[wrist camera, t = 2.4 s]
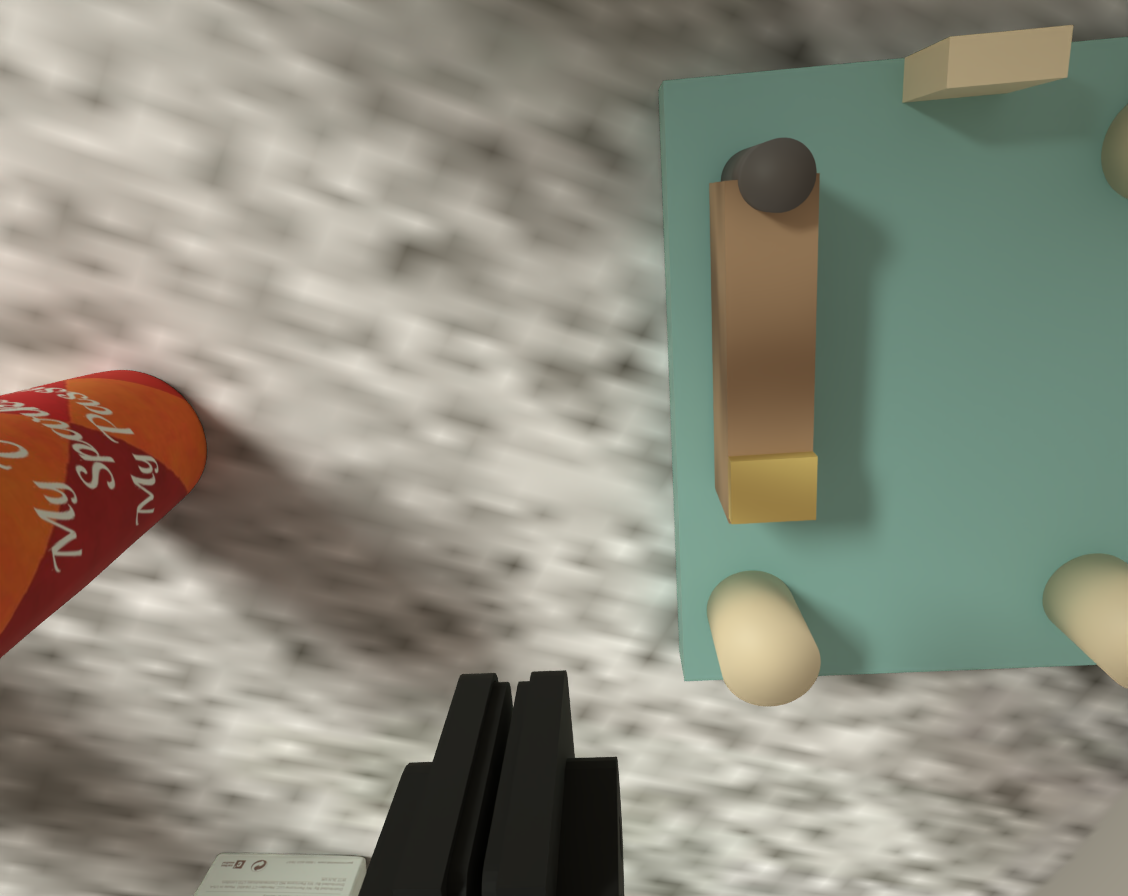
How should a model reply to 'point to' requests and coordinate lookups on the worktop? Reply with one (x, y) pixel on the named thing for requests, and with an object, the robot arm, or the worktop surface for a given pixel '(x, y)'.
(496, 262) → the worktop surface
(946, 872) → the worktop surface
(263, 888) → the supplement box
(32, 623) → the paper cup
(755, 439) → the folding leg
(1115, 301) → the stool seat
